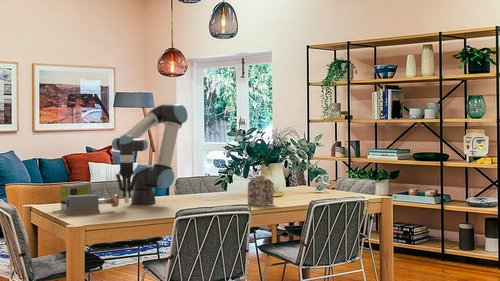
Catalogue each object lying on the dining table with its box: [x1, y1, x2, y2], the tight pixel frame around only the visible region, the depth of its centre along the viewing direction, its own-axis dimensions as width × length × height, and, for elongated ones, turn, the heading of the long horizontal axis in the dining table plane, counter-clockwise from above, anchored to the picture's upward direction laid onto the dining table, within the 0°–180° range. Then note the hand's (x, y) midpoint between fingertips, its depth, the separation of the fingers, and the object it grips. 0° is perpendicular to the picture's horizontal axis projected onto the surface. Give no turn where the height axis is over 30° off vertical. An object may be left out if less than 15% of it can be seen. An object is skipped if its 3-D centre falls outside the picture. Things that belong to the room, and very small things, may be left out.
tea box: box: [60, 182, 92, 211], centre depth 395 cm, size 15×10×15 cm, turn 141°
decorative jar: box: [247, 175, 274, 206], centre depth 417 cm, size 12×12×18 cm
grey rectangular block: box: [99, 194, 120, 208], centre depth 382 cm, size 21×7×7 cm, turn 120°
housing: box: [63, 193, 101, 217], centre depth 377 cm, size 17×12×10 cm
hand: (126, 202), depth 390 cm, fingers closed
